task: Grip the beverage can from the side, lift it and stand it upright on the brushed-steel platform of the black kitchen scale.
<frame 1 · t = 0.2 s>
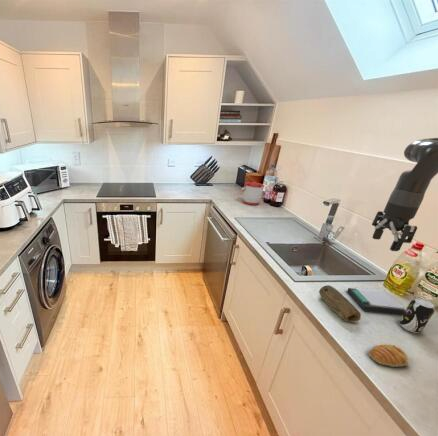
hand: (384, 244, 85), 28 cm above the worktop, tool pointing down, fingers open, 8 cm apart
beverage can: (408, 328, 86), on the worktop
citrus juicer: (249, 203, 208), on the worktop
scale: (373, 302, 97), on the worktop
brown rough cylinder: (335, 309, 94), on the worktop
pastry: (386, 359, 75), on the worktop
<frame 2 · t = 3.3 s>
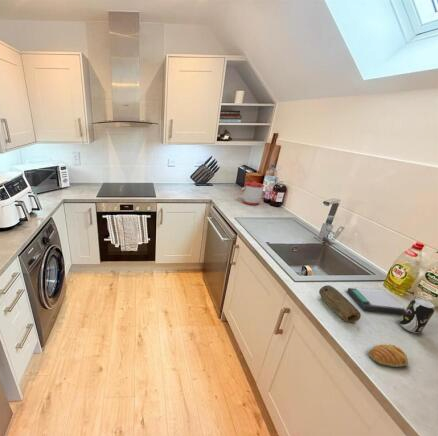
nothing on the worktop moved.
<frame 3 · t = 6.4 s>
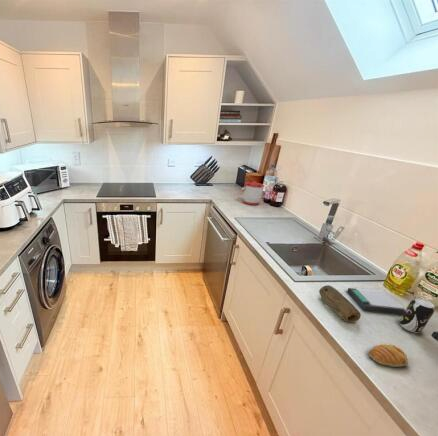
nothing on the worktop moved.
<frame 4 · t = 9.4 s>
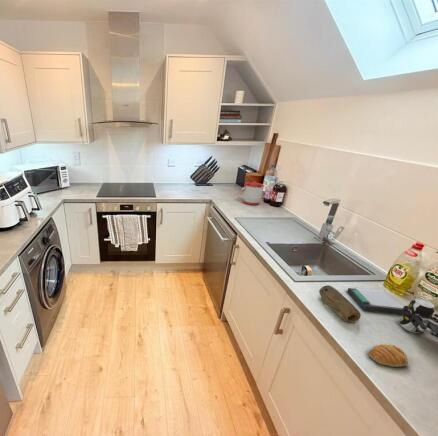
hand: (409, 307, 86), 7 cm above the worktop, tool horizontal, fingers closed on beverage can, 3 cm apart
beverage can: (408, 328, 86), on the worktop, touching gripper
everything else where it was.
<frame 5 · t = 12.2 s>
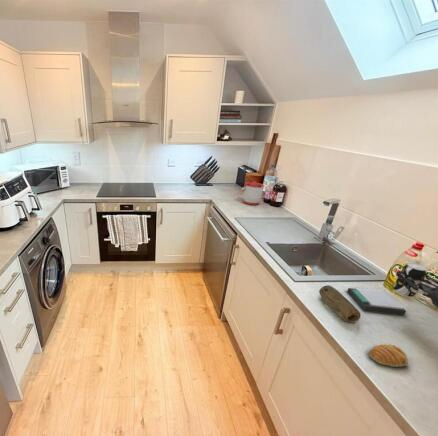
hand: (402, 272, 87), 18 cm above the worktop, tool horizontal, fingers closed on beverage can, 3 cm apart
beverage can: (402, 293, 87), point 10 cm above the worktop, touching gripper
everything else where it was.
when the fingers open (10 cm above the worktop, at t = 15.4 s): beverage can stays where it is, resting on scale.
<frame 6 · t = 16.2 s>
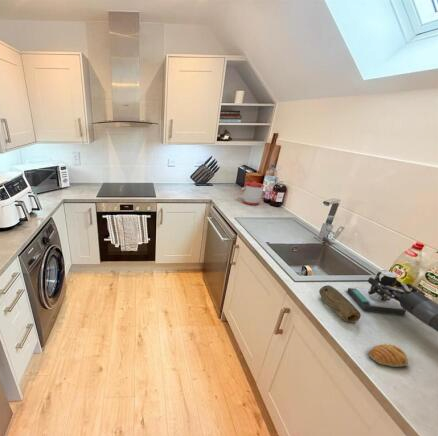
hand: (379, 279, 95), 11 cm above the worktop, tool horizontal, fingers open, 8 cm apart
beverage can: (376, 297, 96), point 3 cm above the worktop, touching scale
everything else where it was.
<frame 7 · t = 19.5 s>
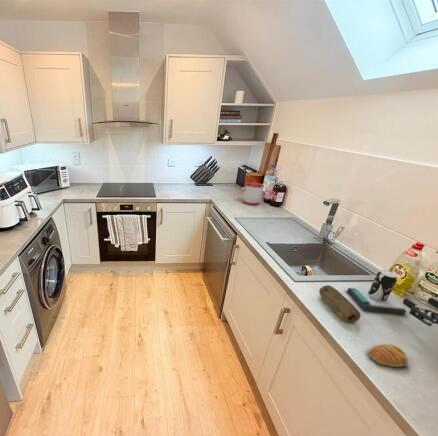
hand: (416, 300, 83), 11 cm above the worktop, tool horizontal, fingers open, 8 cm apart
nothing on the worktop moved.
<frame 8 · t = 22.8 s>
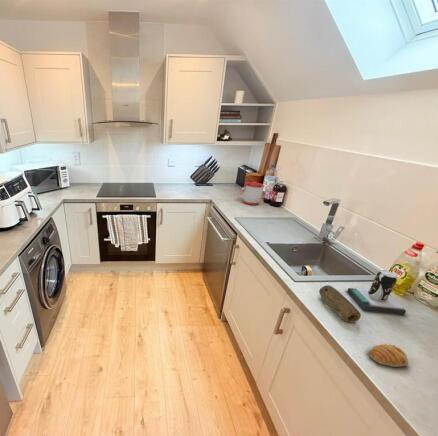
nothing on the worktop moved.
at the end: beverage can inside the target area (0.2 cm from its centre), point 2.8 cm above the worktop; beverage can tilted 0°; the gripper is holding nothing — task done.
